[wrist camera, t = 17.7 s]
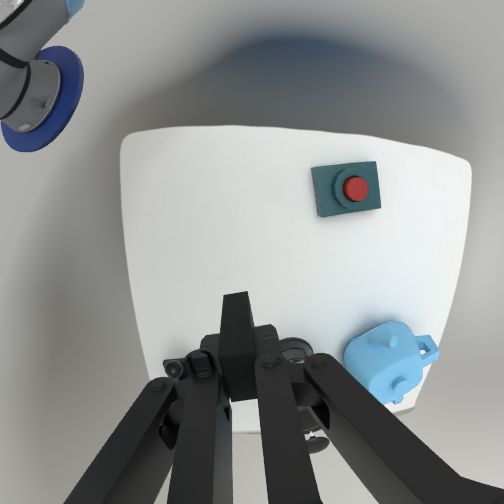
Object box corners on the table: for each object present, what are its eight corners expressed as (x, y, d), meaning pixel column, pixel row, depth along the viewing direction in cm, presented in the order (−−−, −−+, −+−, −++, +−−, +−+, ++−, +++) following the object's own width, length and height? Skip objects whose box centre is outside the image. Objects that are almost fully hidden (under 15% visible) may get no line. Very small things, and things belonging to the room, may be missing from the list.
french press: (288, 326, 51) (317, 417, 29) (324, 347, 53) (364, 432, 31) (251, 368, 53) (259, 462, 31) (287, 385, 55) (308, 473, 33)
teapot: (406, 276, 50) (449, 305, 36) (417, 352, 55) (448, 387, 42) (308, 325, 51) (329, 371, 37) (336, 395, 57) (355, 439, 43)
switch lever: (166, 359, 46) (160, 362, 43) (183, 358, 46) (178, 360, 43) (181, 425, 43) (176, 431, 40) (197, 424, 43) (193, 430, 40)
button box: (311, 167, 44) (317, 166, 40) (370, 161, 44) (380, 160, 40) (318, 215, 46) (325, 218, 42) (375, 206, 46) (386, 209, 42)
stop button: (341, 178, 41) (345, 178, 39) (362, 176, 41) (366, 176, 39) (344, 201, 42) (348, 202, 40) (364, 198, 42) (369, 199, 40)
